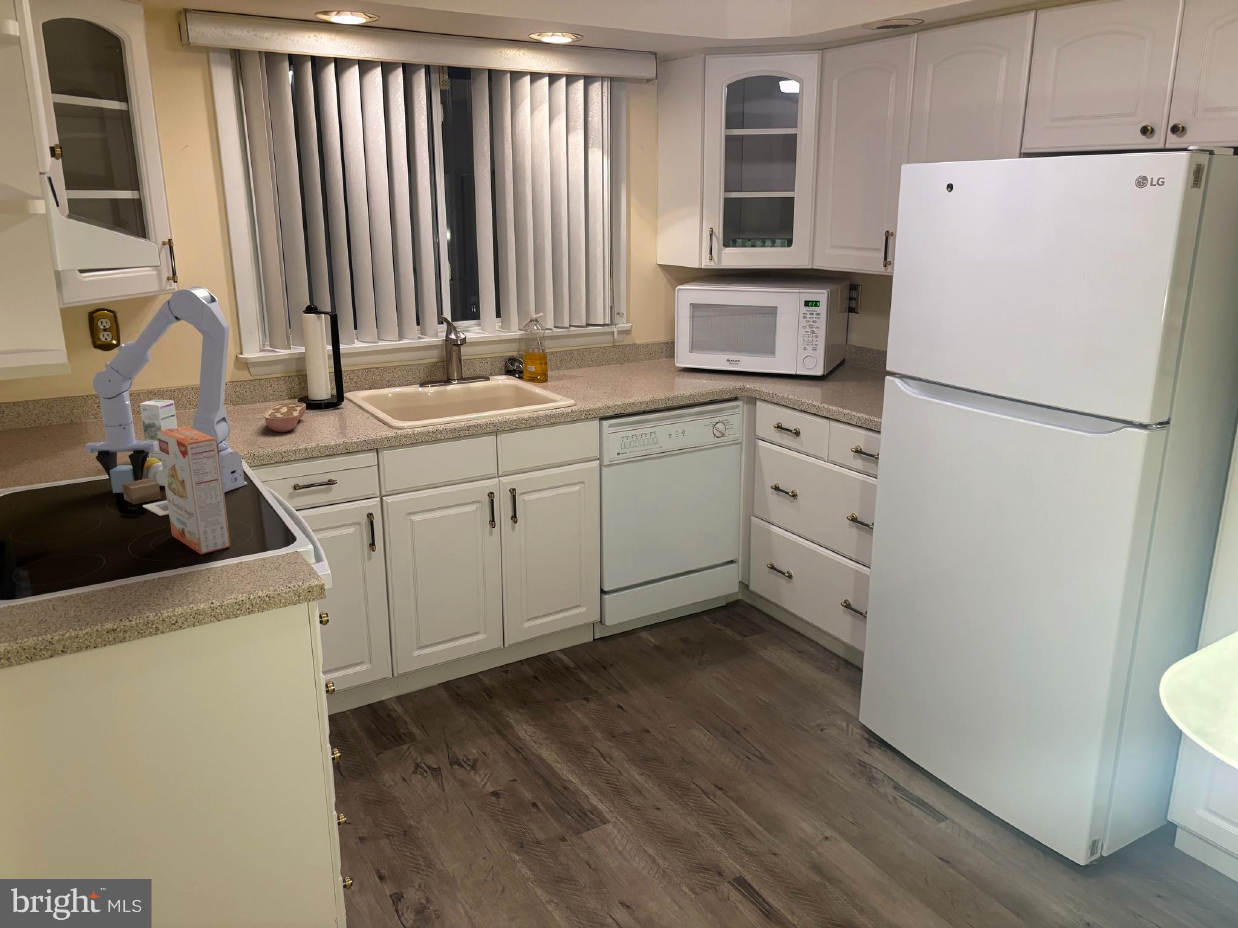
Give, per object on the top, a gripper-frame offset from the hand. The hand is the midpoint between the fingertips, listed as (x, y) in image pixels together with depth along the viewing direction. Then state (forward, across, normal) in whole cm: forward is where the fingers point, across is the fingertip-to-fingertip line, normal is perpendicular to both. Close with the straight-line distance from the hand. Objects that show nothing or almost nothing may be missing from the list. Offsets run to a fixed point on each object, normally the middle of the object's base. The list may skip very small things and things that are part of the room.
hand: (127, 483), depth 207 cm
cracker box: (+2, -29, +37) cm, 47 cm away
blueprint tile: (+1, -14, +15) cm, 20 cm away
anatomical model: (+2, -17, -64) cm, 66 cm away
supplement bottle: (-1, -2, -8) cm, 8 cm away
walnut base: (+1, -6, +8) cm, 10 cm away
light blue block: (+1, 0, 0) cm, 1 cm away
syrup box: (+2, +3, -28) cm, 29 cm away
